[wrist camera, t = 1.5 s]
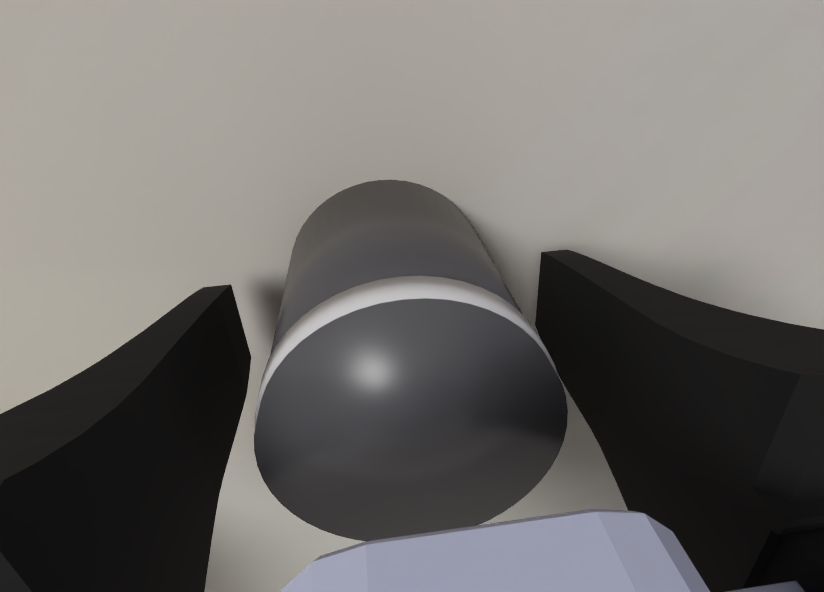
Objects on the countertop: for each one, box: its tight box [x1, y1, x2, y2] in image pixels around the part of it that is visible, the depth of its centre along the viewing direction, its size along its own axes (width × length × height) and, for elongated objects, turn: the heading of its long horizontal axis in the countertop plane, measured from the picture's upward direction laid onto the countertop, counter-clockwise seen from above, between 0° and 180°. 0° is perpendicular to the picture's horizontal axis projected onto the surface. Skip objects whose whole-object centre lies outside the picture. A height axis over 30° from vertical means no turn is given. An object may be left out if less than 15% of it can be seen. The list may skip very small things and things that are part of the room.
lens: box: [254, 180, 568, 541], centre depth 11 cm, size 5×5×6 cm
